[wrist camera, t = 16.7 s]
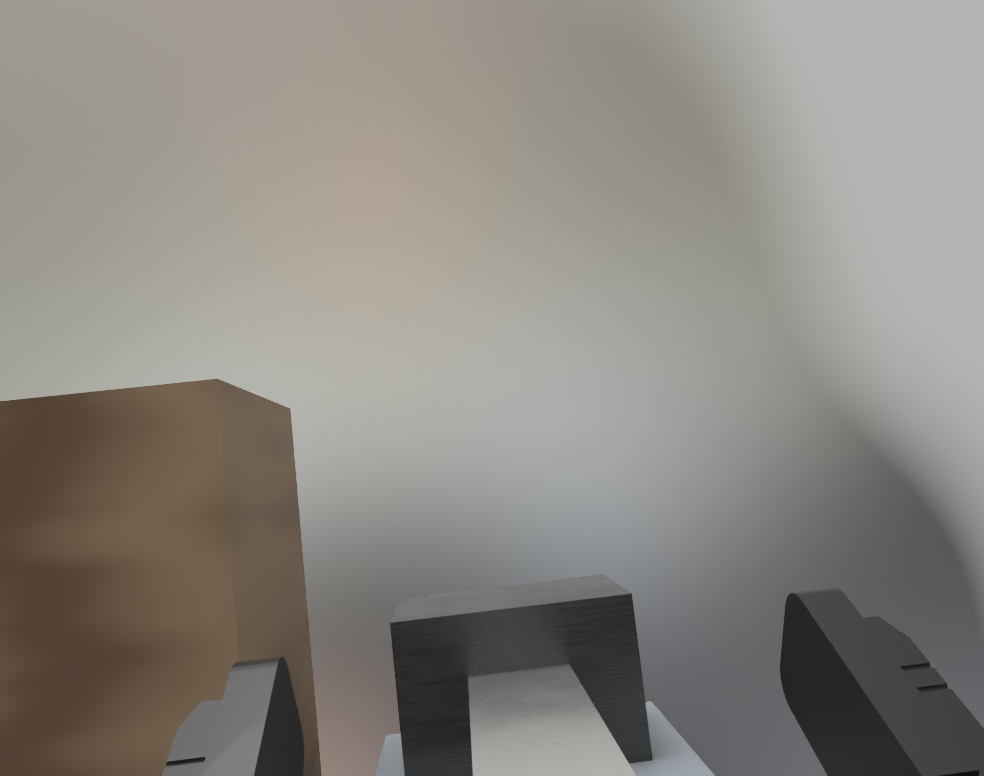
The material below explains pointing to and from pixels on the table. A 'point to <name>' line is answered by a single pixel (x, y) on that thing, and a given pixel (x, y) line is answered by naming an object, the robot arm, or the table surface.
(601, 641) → the blocky hammer
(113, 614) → the tall wooden post
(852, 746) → the robot arm
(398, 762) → the grey tall block
